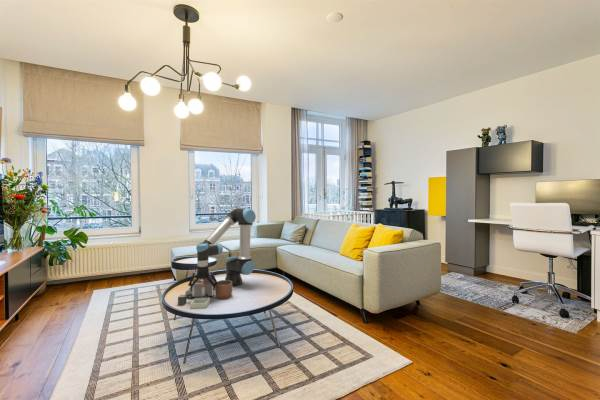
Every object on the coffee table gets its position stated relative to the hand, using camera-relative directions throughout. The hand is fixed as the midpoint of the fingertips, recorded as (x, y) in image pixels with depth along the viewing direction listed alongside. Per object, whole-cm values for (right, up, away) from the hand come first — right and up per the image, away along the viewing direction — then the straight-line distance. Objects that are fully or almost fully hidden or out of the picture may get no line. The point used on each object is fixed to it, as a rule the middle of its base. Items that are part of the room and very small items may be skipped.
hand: (203, 295), depth 206 cm
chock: (-13, -5, -5) cm, 15 cm away
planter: (+13, -5, +9) cm, 16 cm away
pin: (0, -4, 0) cm, 4 cm away
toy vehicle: (-5, -5, +9) cm, 11 cm away
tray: (+1, -5, -8) cm, 9 cm away
